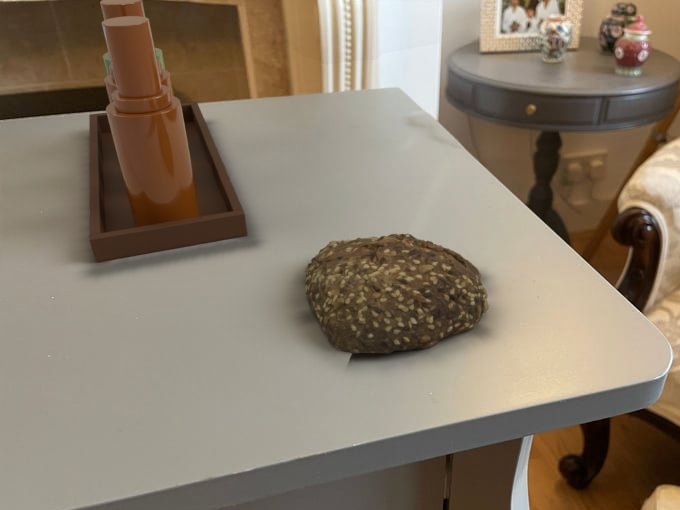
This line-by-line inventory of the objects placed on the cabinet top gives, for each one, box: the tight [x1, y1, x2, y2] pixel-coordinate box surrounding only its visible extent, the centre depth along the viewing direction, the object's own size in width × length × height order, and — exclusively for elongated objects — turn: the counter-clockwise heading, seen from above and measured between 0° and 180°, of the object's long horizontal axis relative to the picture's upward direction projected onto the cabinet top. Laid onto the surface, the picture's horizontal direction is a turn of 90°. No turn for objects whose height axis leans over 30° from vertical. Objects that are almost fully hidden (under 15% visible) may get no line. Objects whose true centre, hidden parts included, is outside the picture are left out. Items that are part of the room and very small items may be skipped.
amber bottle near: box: [101, 16, 201, 228], centre depth 51 cm, size 5×5×16 cm
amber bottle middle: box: [99, 0, 175, 104], centre depth 57 cm, size 5×5×16 cm
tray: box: [88, 101, 248, 264], centre depth 62 cm, size 30×12×3 cm, turn 21°
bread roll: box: [304, 233, 490, 355], centre depth 45 cm, size 13×12×5 cm
